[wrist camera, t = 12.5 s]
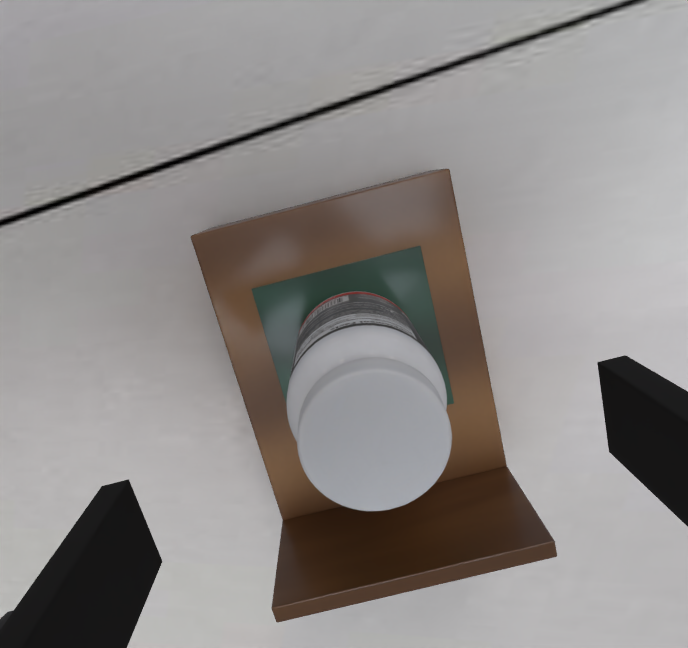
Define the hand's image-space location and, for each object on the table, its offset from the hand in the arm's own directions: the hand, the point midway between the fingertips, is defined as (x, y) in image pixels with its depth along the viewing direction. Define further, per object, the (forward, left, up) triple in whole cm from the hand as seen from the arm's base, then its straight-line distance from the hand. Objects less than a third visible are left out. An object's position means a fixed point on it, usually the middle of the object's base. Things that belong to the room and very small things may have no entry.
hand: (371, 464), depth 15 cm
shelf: (+1, 0, -15) cm, 15 cm away
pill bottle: (0, 0, -11) cm, 11 cm away
